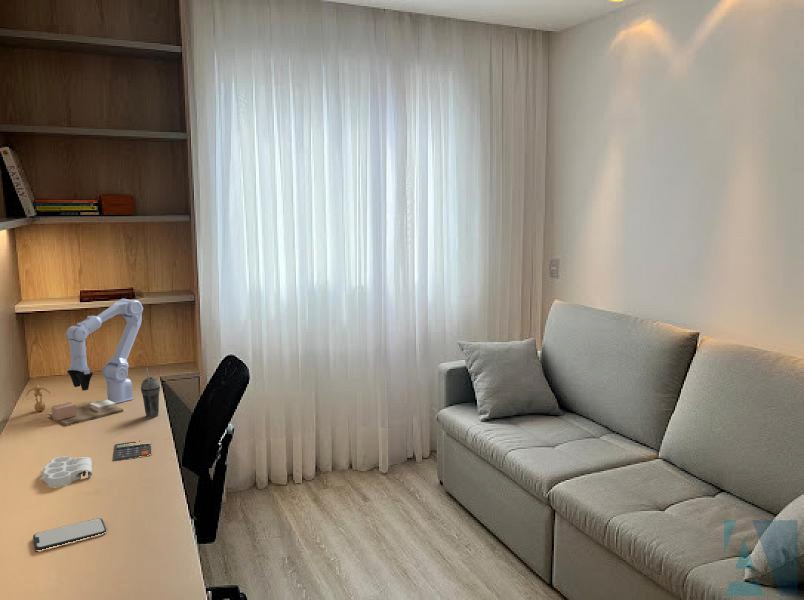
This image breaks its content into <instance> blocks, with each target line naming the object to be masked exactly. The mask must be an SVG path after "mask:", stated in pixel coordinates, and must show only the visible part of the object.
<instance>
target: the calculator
mask: <svg viewBox="0 0 804 600" xmlns="http://www.w3.org/2000/svg"><path fill="white" fill-rule="evenodd" d="M138 441H139V442H140V441H141V440H138ZM129 443H136V442H135V441H129V442H122V443H115V444H114V450H113V455H112V456H113V457H112V461H113V462H115V461H116V462H118V461H123V460H124V459H125V460H130V459H129V458H132V459H136V458H135V457H139V456H146V457H148V456H147V455H149V454H151V455H152V443H151V444H140V445H133V446H130V445H131V444H129ZM124 444H125V445H124ZM126 444H127V445H126ZM128 444H129V445H128ZM150 445H151V446H150ZM139 458H140V457H139ZM117 460H118V461H117ZM125 460H124V461H125Z"/></svg>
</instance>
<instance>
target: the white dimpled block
mask: <svg viewBox="0 0 804 600" xmlns="http://www.w3.org/2000/svg"><path fill="white" fill-rule="evenodd" d="M84 471H88V477H89V478H91V477H92V476H93V462H92V458H91V457H88V456H80V457H70V456H65V455H63V456H58V457H55V458H52V459H50V460H49V463H47V464H45V466H44V467H43V469H42V470H41V471H39V473H40V474H43V475H42V476H41V477H39V478H38V481H43V482H44V481H45V482H44V483H45V484H47V486H49V487H60V488H63V487H62V486H64V487H66V486H65V485H67V486H68V484H69V485H71V483H73V482H75V481H78V479H80V480H82V479H81V474H82V472H84ZM74 480H75V481H74ZM72 481H73V482H72ZM49 487H48V488H49Z"/></svg>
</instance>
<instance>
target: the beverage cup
mask: <svg viewBox="0 0 804 600" xmlns="http://www.w3.org/2000/svg"><path fill="white" fill-rule="evenodd" d="M145 370H146V378H145V379H144V380H142V382H141V384H140V390H141V391H140V392H141V394H142V399H143V406H144V412H145V417H146V418H148V417H152V418H156V417H155V416H157V417H159V412H160V411H159V409H160V390H161V384H160V382H159V380H158V379H156V378H155V377H150V375H149V370H148V367H145Z"/></svg>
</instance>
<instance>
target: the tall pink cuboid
mask: <svg viewBox="0 0 804 600" xmlns="http://www.w3.org/2000/svg"><path fill="white" fill-rule="evenodd" d="M76 408H77V406H76V404H75V403H74V402H71V401H69V402H66V403H60V404H57V405H53V406H51V414H52V418H54V419H56V420H61V419H65V418H69V417H73V416H77V415H76ZM52 418H51V419H52ZM54 419H53V420H54ZM56 420H55V421H56Z"/></svg>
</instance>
